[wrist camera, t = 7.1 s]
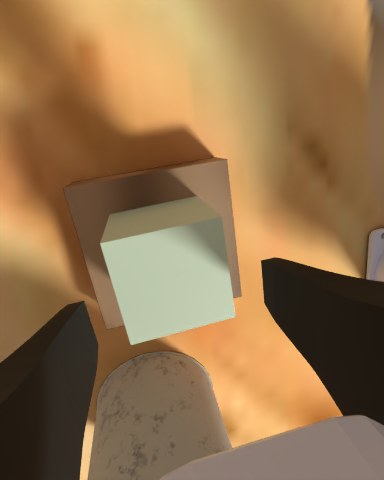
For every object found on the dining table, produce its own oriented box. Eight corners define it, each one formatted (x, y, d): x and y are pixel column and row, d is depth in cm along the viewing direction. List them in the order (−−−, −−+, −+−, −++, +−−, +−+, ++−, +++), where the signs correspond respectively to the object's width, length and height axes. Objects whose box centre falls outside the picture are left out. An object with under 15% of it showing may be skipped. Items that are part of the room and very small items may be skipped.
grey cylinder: (98, 449, 24) (68, 722, 13) (93, 356, 21) (49, 598, 10) (208, 434, 26) (266, 657, 15) (216, 346, 23) (298, 538, 12)
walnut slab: (215, 157, 18) (227, 159, 16) (229, 279, 22) (241, 296, 19) (72, 182, 17) (63, 188, 15) (109, 308, 20) (106, 329, 18)
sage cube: (196, 196, 16) (221, 216, 12) (209, 272, 18) (235, 317, 14) (109, 214, 16) (100, 243, 11) (131, 291, 18) (130, 345, 13)
